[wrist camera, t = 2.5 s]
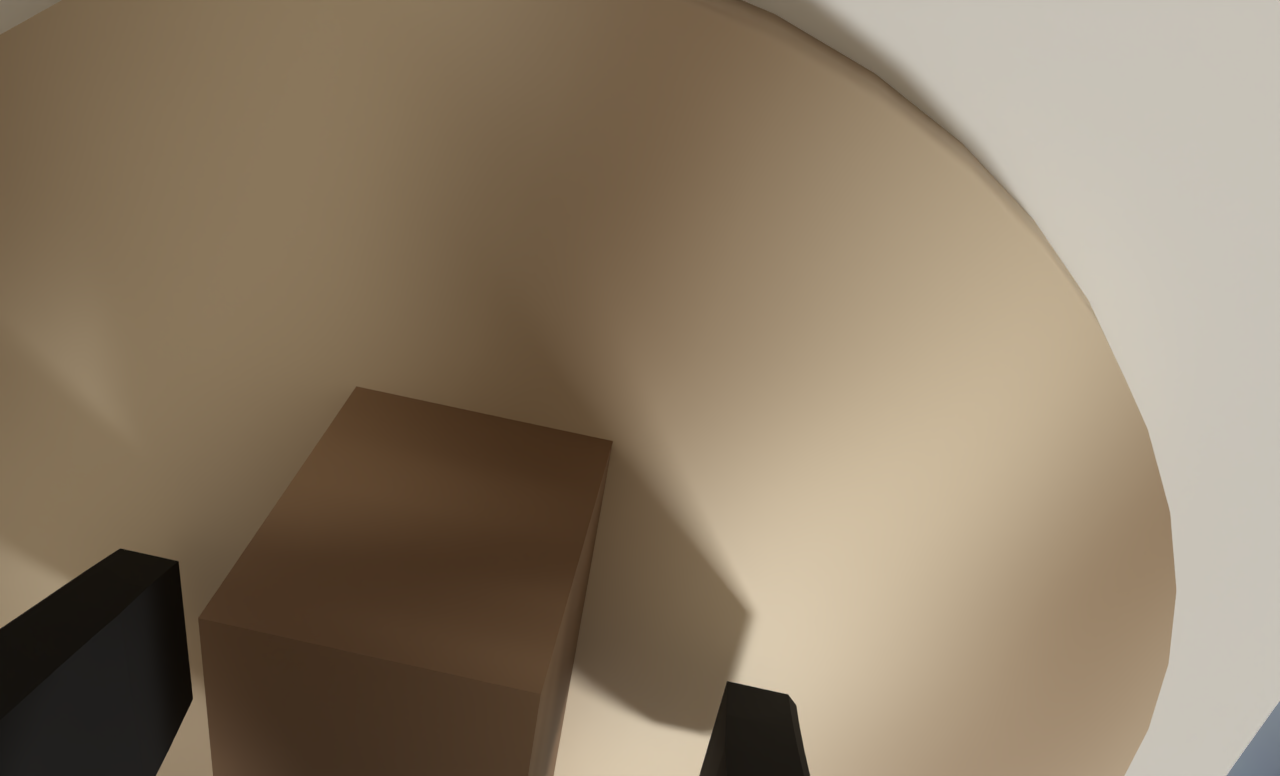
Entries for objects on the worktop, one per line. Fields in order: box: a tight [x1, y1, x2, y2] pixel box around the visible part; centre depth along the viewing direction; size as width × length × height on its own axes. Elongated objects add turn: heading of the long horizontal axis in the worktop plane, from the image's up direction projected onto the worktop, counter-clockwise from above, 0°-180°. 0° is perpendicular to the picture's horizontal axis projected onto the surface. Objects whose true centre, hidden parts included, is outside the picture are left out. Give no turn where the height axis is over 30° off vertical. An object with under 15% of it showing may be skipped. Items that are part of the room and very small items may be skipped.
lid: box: [0, 0, 1176, 776], centre depth 11 cm, size 14×14×4 cm
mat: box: [0, 0, 1280, 776], centre depth 12 cm, size 17×17×1 cm
